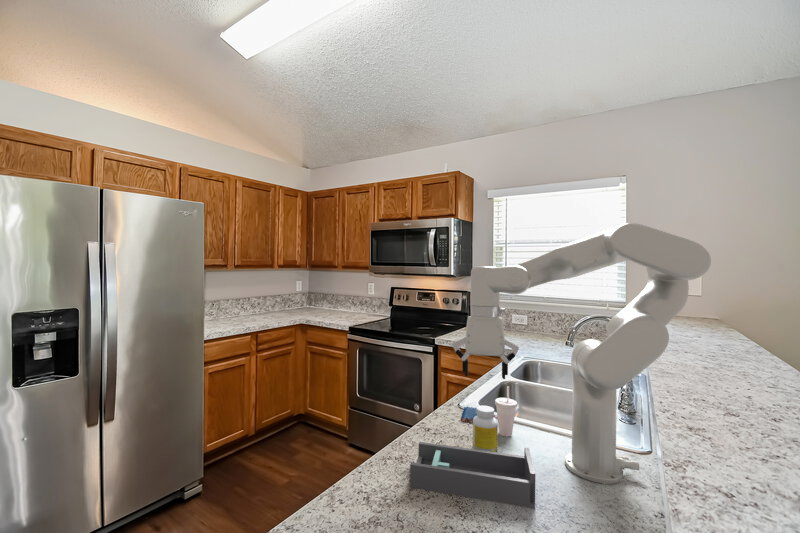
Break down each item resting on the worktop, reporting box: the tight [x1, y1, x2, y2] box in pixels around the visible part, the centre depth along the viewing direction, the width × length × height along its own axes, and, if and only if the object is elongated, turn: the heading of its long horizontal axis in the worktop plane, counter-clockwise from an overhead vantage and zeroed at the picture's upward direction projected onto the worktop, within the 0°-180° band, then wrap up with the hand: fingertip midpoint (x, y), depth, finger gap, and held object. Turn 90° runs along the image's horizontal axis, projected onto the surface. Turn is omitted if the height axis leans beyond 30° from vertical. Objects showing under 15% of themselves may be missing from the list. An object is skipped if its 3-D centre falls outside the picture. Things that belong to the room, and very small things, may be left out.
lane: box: [409, 441, 536, 510], centre depth 80 cm, size 26×11×7 cm, turn 76°
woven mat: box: [460, 406, 496, 423], centre depth 117 cm, size 10×11×2 cm
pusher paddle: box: [432, 450, 449, 468], centre depth 82 cm, size 4×8×3 cm, turn 166°
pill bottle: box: [471, 404, 499, 452], centre depth 94 cm, size 6×6×12 cm
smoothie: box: [494, 386, 518, 438], centre depth 105 cm, size 6×6×14 cm
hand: (484, 376), depth 94 cm, fingers open, 9 cm apart
